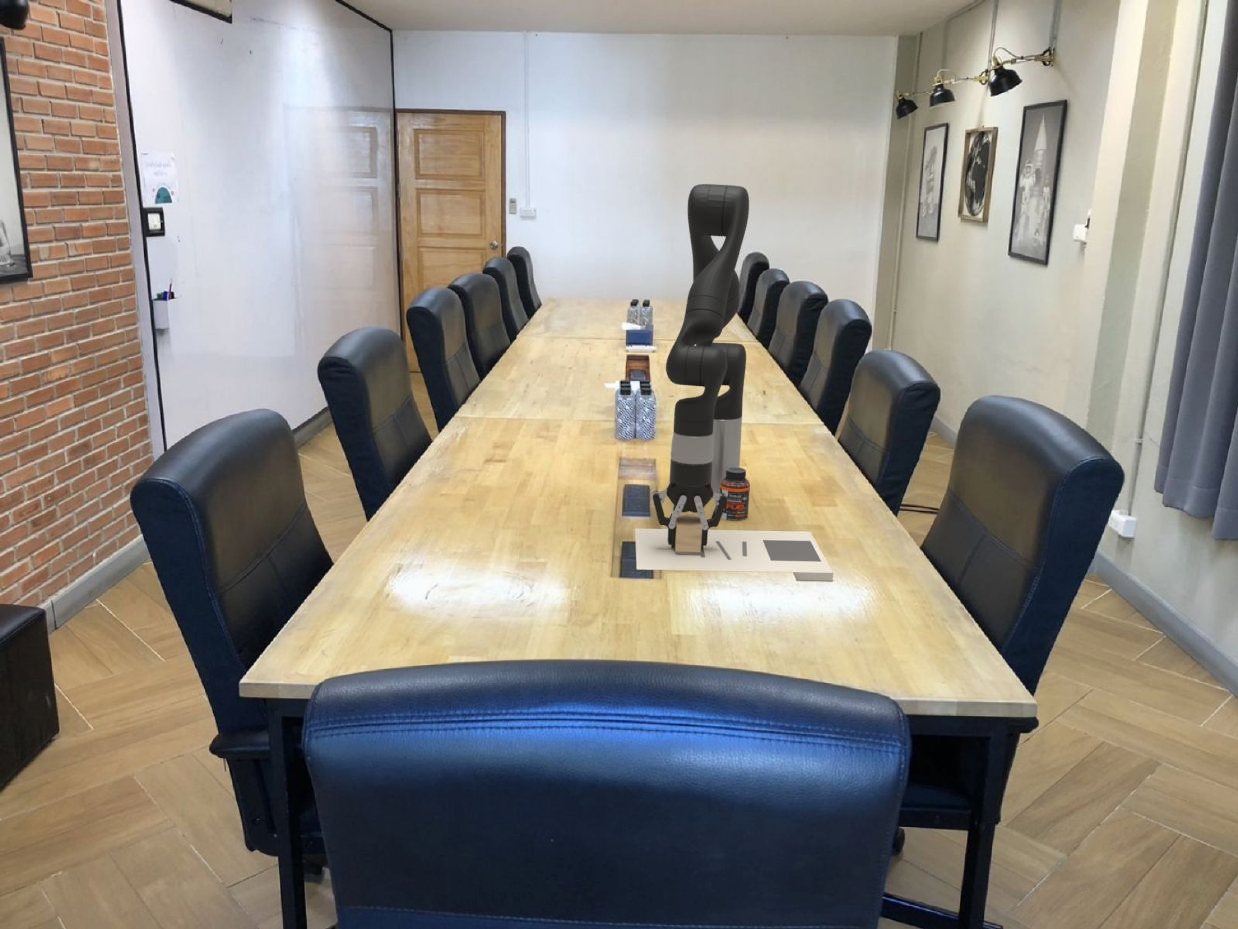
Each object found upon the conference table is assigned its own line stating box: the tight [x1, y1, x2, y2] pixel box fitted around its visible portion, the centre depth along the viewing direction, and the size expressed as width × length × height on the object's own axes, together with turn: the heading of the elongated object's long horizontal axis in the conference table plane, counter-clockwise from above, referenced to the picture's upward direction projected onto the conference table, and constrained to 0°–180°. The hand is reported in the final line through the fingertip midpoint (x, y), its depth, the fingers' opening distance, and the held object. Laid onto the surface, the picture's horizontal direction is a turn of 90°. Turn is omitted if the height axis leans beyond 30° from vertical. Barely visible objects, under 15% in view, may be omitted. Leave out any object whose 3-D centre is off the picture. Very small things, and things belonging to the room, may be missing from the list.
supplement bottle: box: [720, 467, 751, 522], centre depth 205 cm, size 6×6×11 cm
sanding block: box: [675, 513, 702, 555], centre depth 186 cm, size 7×4×6 cm, turn 0°
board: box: [634, 528, 834, 582], centre depth 187 cm, size 22×34×2 cm, turn 90°
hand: (686, 546), depth 187 cm, fingers closed on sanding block, 4 cm apart
